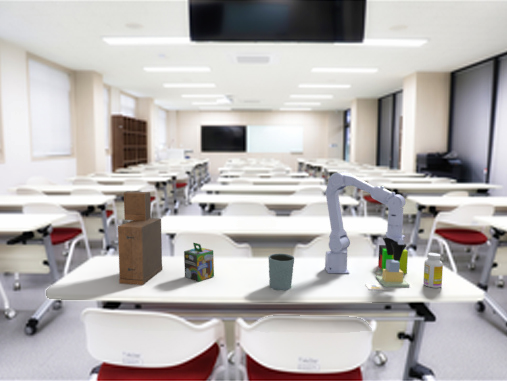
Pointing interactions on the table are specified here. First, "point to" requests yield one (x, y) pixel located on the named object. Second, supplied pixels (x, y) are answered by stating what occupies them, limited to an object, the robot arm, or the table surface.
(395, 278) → the ochre brick
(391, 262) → the blue cube
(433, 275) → the supplement bottle
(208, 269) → the multicoloured upright box
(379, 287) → the page
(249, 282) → the table surface
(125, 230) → the brown stacked boxes
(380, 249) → the puzzle toy
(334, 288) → the table surface
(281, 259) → the green cup
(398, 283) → the baseplate
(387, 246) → the robot arm
